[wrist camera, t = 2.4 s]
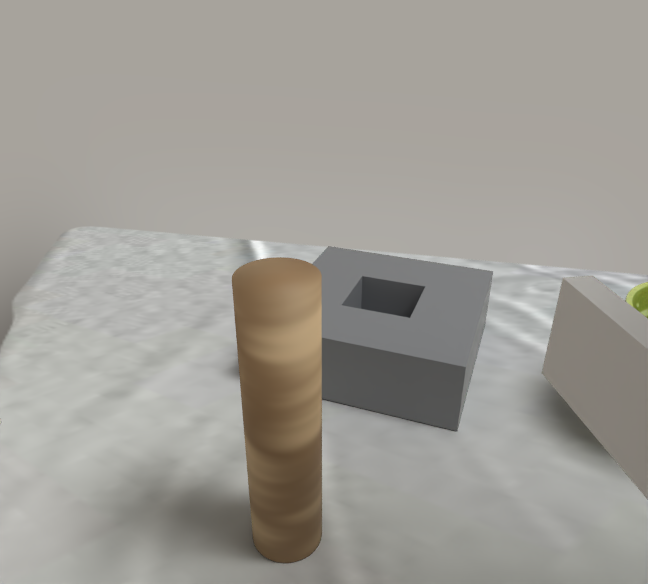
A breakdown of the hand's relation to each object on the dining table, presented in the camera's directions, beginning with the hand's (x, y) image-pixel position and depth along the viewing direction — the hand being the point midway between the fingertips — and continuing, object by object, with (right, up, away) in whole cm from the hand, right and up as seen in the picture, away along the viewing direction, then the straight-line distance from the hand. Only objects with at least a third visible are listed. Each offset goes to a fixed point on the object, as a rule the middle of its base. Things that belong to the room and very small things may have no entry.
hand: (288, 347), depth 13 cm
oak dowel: (-1, -11, +17) cm, 21 cm away
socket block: (+5, -3, +32) cm, 33 cm away
